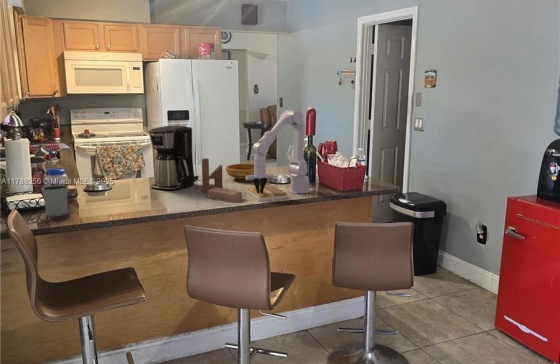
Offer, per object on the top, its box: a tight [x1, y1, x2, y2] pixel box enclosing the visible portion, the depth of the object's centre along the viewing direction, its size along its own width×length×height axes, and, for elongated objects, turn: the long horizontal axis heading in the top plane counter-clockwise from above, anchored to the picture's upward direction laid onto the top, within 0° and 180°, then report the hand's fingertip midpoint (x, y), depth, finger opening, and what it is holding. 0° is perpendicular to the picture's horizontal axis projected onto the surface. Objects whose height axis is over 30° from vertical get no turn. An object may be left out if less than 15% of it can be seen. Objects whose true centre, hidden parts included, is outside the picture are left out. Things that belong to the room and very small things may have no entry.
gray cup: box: [41, 184, 69, 217], centre depth 203 cm, size 10×10×12 cm
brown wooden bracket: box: [201, 158, 224, 193], centre depth 247 cm, size 4×11×18 cm, turn 115°
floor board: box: [244, 185, 289, 202], centre depth 239 cm, size 16×20×3 cm
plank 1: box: [247, 186, 267, 194], centre depth 242 cm, size 8×9×1 cm
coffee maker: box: [148, 125, 201, 191], centre depth 261 cm, size 23×32×34 cm
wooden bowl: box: [224, 163, 254, 182], centre depth 280 cm, size 30×24×8 cm
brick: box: [206, 188, 243, 203], centre depth 232 cm, size 17×8×5 cm, turn 60°
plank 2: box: [254, 190, 274, 197], centre depth 234 cm, size 8×9×1 cm
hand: (259, 193), depth 233 cm, fingers closed on plank 2
